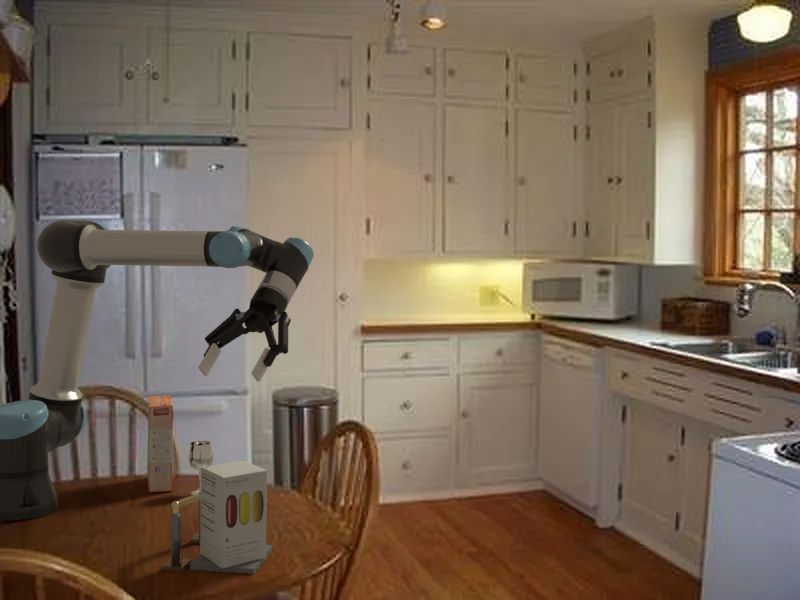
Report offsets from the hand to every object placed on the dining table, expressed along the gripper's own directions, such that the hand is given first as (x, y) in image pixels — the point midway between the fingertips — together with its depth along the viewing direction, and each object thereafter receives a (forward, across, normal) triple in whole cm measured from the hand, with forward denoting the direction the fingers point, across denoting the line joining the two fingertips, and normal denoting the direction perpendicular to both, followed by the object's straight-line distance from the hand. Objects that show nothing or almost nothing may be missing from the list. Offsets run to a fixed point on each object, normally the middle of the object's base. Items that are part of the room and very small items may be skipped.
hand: (228, 374), depth 173 cm
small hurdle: (+32, -1, -14) cm, 35 cm away
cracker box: (+10, +36, -36) cm, 52 cm away
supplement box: (+31, -11, -14) cm, 36 cm away
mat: (+31, -10, -15) cm, 36 cm away
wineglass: (+11, +23, -36) cm, 44 cm away
